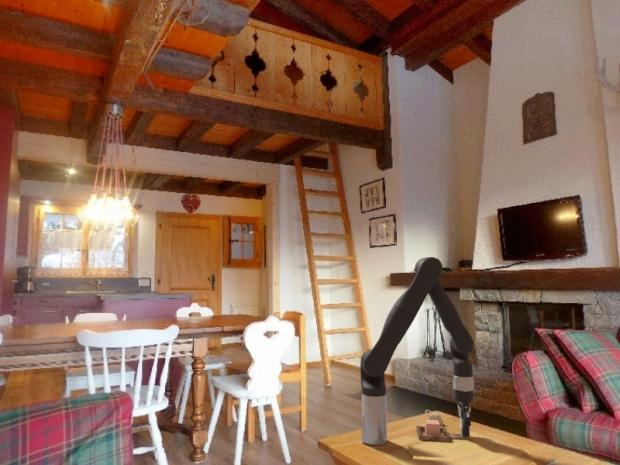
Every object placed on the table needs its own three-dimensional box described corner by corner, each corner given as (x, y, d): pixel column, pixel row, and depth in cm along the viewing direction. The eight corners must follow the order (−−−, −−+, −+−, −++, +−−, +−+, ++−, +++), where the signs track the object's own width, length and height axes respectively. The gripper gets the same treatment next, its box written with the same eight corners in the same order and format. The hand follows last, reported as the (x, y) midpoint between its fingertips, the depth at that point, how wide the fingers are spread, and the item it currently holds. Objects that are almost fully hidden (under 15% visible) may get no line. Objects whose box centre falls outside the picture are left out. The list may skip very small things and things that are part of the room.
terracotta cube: (426, 437, 164) (426, 423, 165) (425, 432, 169) (424, 419, 169) (440, 438, 163) (439, 424, 164) (438, 433, 168) (437, 420, 169)
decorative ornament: (438, 429, 177) (437, 415, 177) (424, 423, 184) (423, 410, 185) (445, 427, 178) (445, 414, 179) (431, 421, 186) (431, 408, 186)
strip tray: (419, 442, 161) (418, 422, 162) (416, 432, 172) (416, 413, 173) (472, 445, 159) (471, 424, 159) (466, 434, 170) (465, 415, 170)
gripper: (450, 383, 174) (451, 428, 172) (456, 391, 160) (458, 440, 158) (469, 383, 173) (471, 429, 171) (478, 392, 159) (479, 442, 157)
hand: (465, 434), depth 164 cm, fingers closed on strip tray, 3 cm apart
